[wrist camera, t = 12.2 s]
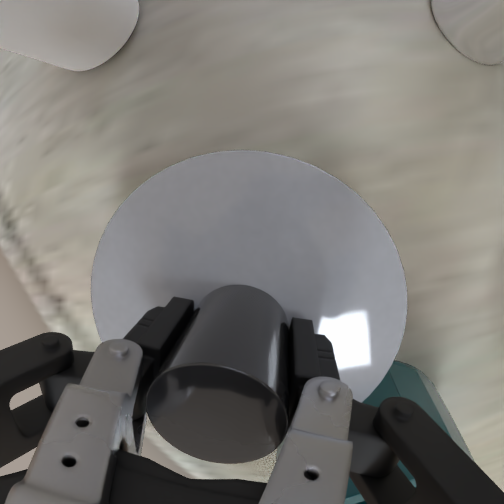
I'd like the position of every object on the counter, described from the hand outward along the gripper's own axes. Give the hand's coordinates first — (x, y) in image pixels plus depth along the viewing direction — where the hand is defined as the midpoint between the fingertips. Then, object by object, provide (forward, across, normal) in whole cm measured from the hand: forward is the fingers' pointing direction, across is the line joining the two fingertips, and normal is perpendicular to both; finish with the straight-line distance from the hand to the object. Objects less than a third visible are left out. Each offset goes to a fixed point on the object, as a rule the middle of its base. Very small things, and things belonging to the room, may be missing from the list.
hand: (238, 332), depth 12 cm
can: (+6, +12, -14) cm, 20 cm away
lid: (+1, 0, 0) cm, 1 cm away
